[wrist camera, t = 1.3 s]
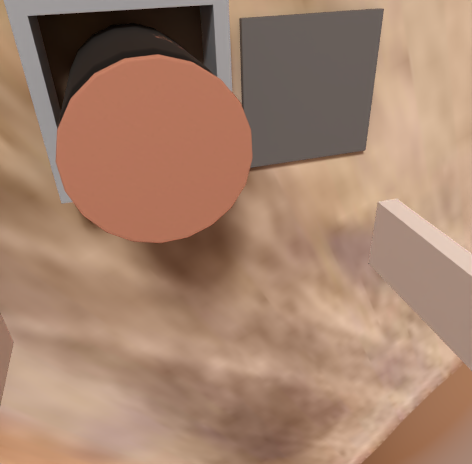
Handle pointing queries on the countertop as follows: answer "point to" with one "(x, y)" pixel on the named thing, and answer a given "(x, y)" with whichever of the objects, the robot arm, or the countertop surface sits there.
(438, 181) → the countertop surface
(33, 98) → the pocket frame
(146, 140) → the coffee jar
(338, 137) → the pad
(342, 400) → the countertop surface
